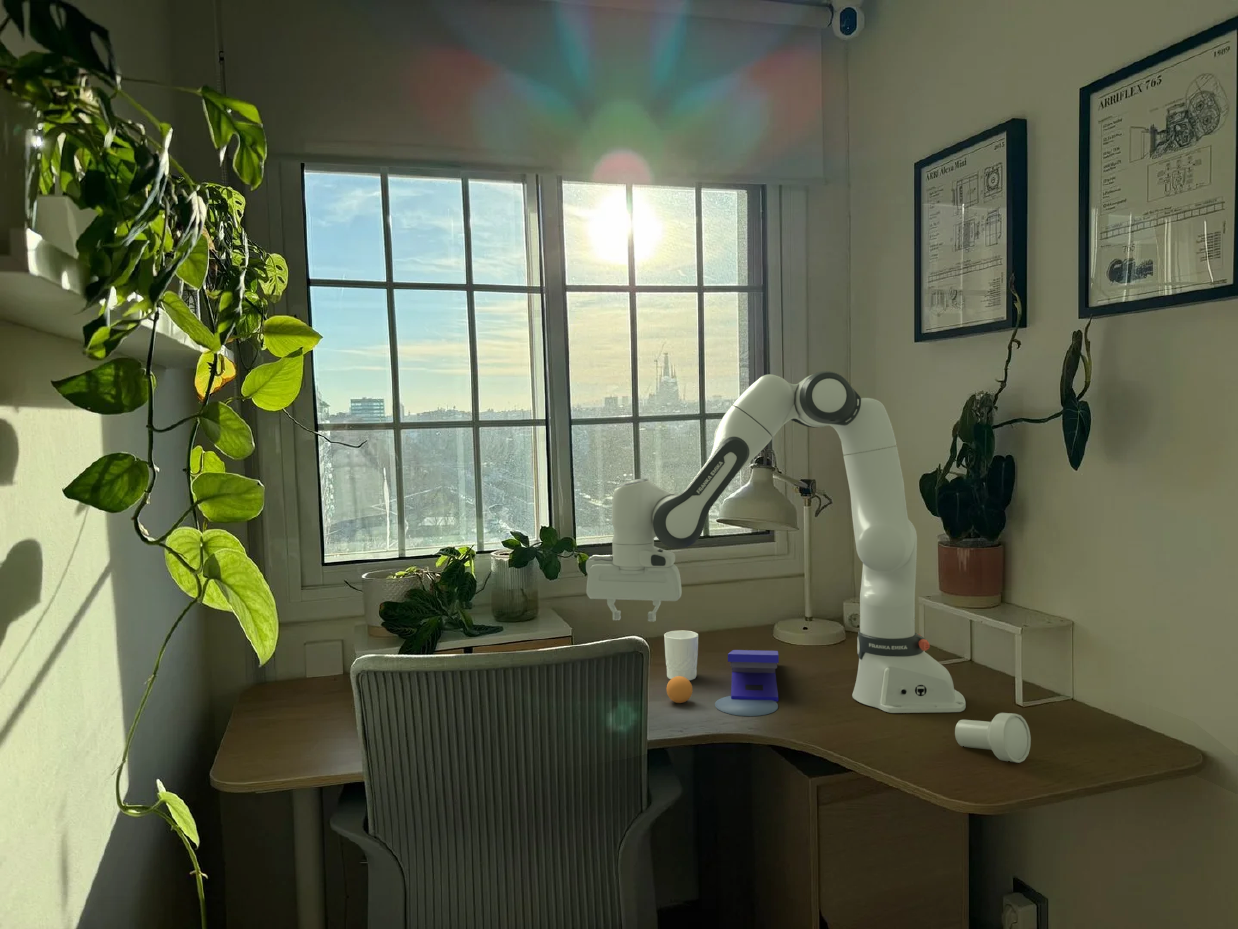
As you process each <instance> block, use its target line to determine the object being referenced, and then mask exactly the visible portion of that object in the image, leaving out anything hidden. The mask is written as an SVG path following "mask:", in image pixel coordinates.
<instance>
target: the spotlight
mask: <svg viewBox="0 0 1238 929" xmlns="http://www.w3.org/2000/svg"><path fill="white" fill-rule="evenodd" d="M954 736H955V740H956V742H957V743H958V745H959V746H961V747H963V746H964V747H965V748H969V749H971V748H972V749H981V750H991V751H992V752H993V754H994V756H995V757H996V758H997V759H998V760H1000V761H1002V762H1003V761H1004V762H1008V761H1010V762H1009V763H1017V764H1018V763H1019V764H1020V763H1022V762H1024V761H1025V760H1026V759H1027V757H1028V756H1029V752H1030V750H1031V742H1032V741H1031V740H1032V738H1031V737H1032V736H1031V732H1030V727H1029V725H1028V723H1027V721H1026V719H1025V718H1024V717H1023V716H1022V715H1021V714H1018V713H1012V712H1011V713H1010V712H1009V713H1008V712H999V713H997V714H995V716H994V717H993V719H991V721H985V720H975V719H974V720H973V719H972V720H971V719H960V720H958V722H957V723H956V725H955V728H954Z"/></svg>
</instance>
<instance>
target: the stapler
mask: <svg viewBox="0 0 1238 929" xmlns="http://www.w3.org/2000/svg"><path fill="white" fill-rule="evenodd" d="M779 656H780V655H779V651H778V650H758V649H757V650H756V649H755V650H753V649H751V650H749V649H745V650H744V649H733V650H731V651H730V652H729V653H727V662H729V663H730V668H731V687H730V689H731V690H730V696H731V699H750V700H773V701H775V702H779V692H778V685H777V676H776V669H778V664H779V662H780V661H779V659H780V658H779Z"/></svg>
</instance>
